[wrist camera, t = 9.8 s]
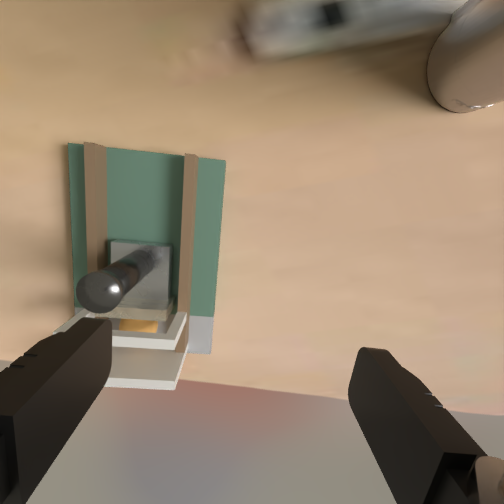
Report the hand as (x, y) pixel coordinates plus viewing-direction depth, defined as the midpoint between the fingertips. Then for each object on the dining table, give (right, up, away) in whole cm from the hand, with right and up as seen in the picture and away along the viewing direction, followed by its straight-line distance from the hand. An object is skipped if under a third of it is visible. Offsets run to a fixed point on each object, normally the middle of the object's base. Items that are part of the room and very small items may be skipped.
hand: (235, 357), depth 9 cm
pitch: (-11, +3, +23) cm, 26 cm away
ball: (-12, -5, +21) cm, 25 cm away
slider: (-12, +1, +22) cm, 25 cm away
